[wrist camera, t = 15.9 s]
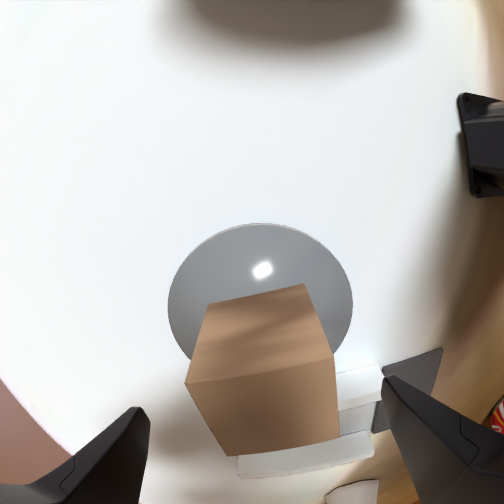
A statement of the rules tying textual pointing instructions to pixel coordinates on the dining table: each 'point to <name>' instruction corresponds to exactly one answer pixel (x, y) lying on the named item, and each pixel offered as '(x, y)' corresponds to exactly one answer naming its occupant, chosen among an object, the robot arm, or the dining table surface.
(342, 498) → the flask
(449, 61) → the dining table surface
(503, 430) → the soda can
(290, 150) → the dining table surface
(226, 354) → the block
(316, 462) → the trough
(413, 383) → the pad
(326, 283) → the coaster
